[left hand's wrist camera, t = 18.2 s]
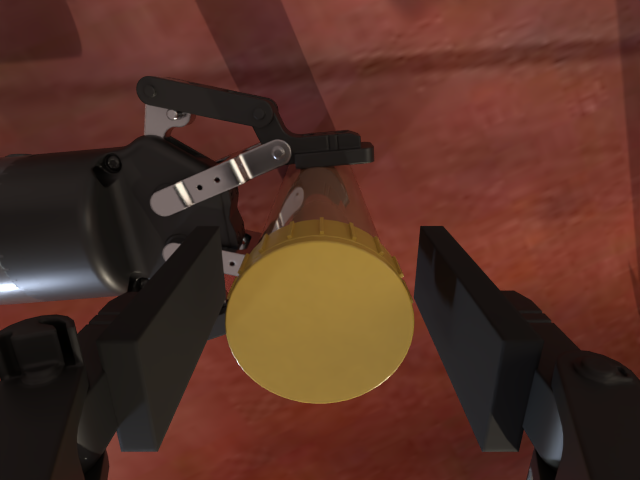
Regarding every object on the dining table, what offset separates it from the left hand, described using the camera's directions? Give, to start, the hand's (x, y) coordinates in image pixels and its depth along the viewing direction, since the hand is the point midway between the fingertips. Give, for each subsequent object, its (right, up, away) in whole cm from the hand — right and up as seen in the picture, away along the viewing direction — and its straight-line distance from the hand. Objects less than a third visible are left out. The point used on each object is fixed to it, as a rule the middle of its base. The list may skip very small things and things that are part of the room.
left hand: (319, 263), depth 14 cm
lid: (0, -1, -3) cm, 4 cm away
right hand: (+3, +3, +7) cm, 8 cm away
